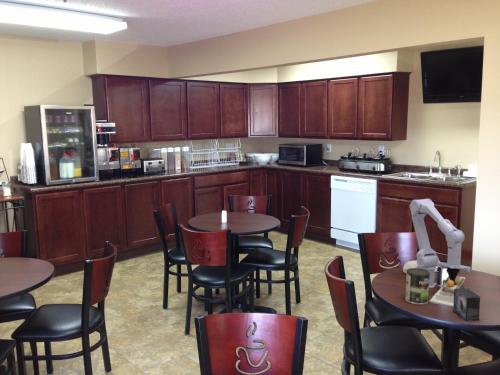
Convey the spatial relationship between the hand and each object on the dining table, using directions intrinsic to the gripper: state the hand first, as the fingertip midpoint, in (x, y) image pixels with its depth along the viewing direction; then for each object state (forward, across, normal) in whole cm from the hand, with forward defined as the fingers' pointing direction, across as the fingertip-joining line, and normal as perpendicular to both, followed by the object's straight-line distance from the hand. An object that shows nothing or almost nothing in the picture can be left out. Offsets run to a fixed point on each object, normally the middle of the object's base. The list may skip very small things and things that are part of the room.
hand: (452, 283), depth 220 cm
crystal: (+6, -22, +29) cm, 37 cm away
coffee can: (+6, -12, -15) cm, 21 cm away
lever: (+4, 0, +3) cm, 5 cm away
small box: (+7, +10, -20) cm, 24 cm away
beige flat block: (+6, 0, -7) cm, 10 cm away
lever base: (+6, 0, -2) cm, 6 cm away
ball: (-1, 0, -4) cm, 4 cm away
